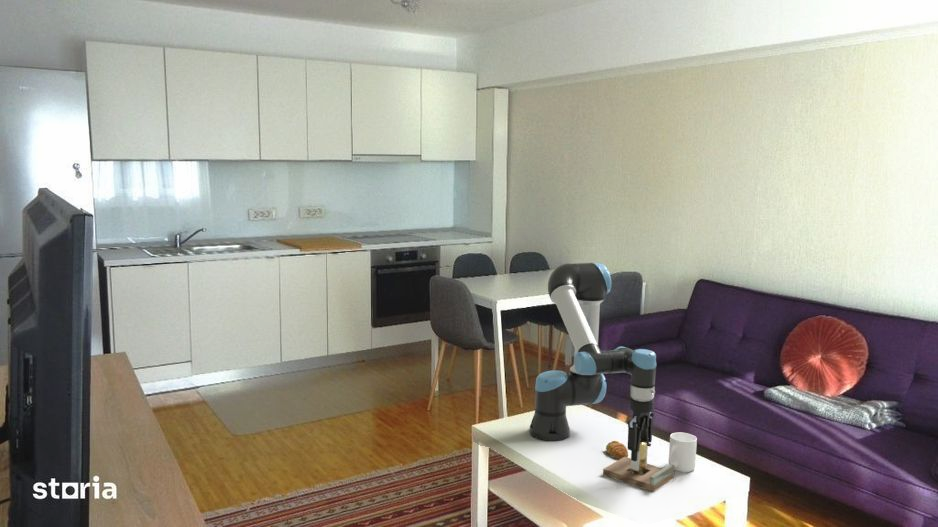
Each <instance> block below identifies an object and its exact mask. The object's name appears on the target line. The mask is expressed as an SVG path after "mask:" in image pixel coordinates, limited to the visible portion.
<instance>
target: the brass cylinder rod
mask: <svg viewBox="0 0 938 527" xmlns="http://www.w3.org/2000/svg"><path fill="white" fill-rule="evenodd" d="M647 447H648V446H647V442H646V441H644V440H640V445H639V451H640V463H639V471H636V470H633V469H632V473H635V474H638V475H644V474H645V471H646V451H647V452H648V449H647Z"/></svg>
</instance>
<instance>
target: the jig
mask: <svg viewBox="0 0 938 527" xmlns="http://www.w3.org/2000/svg"><path fill="white" fill-rule="evenodd" d="M630 468H631V457H623V458H621V459H618V460H616V461H614V462H612V463H611V464H609V465H607V466H606V467H604V468H602V475H603V476H606V477H609V478H611V479H614V480H618V481H621V482H623V483H627V484H629V485H632V486H636V487H638V488H641V489H644V490H647V491H650V492H655V491H656V490H658V489H660V488H661V487H662V486H664V485H665V484H667V483H668V482H670V481H671V480H673V479H674V478H675V470H674V465H673V464H669V463H668V465H666V466H665V467H663V468H662V467H660V466H656V465H652V464H649V463H647V466H646V471H645V474H635V473H633V472H632V469H630Z"/></svg>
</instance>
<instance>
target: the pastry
mask: <svg viewBox="0 0 938 527" xmlns="http://www.w3.org/2000/svg"><path fill="white" fill-rule="evenodd" d="M605 449H606V451H605V452H606V453H607V454H608V455H609V456H611V457H613V458H614V459H616V460H617V459H618V460H620V459H621V458H623V457H627V458H629V451H628V448H627V447H626V445H625V444H623V443H622V442H619V441H617V440H612V441H610V442H609V443H607V445H606V447H605Z"/></svg>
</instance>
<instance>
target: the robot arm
mask: <svg viewBox="0 0 938 527" xmlns="http://www.w3.org/2000/svg"><path fill="white" fill-rule="evenodd" d="M611 289H612V278H611V273H610V271H609V269H608V268H607V266H605V264H603V263H599V262H581V263H580V262H579V263H568V262H567V263H563V264H560V265H559V266H557V267H556V268H555V269H553V271H552V272H551V273H550V276H549V278H548V282H547V293H548V296H549V298H550V300H551V302H552V303H553V304H555V305H556V308H557V309H558V312H559V316H560V317H561V319H562V321H563V324H564V326H565V328H566V331H567V333H568V335H569V337H570V340H571V342H572V344H573V347H574V355H573V356H574V357H573V365H571V366H570V368H569V374H567V372H565V371H564V370H560V369H559V370H555V369H554V370H553V369H552V370H547V371H544V372H541V373H539V374H538V375H537V377H536V378H535V386H534V390H535V391H534V414H533V416H532V420H531V422H530V425H529V435H530V436H532V437H533V438H535V439H537V440H542V441H547V442H549V441H550V442H555V441H563V440H566V439H568V438H569V437H570V435H571V429H570V428H571V427H570V425H569V422H568V419H567V415H566V414H567V407H572V406H573V407H574V406H584V405H585V406H591V405H593V404H599V403H600V402H602V401H603V400H604V398H605V396H606V393H607V382H606V377H605V375H604V374H606V375H607V374H621V373H625V374H626V373H627V374H628V375H630V390H629V391H630V394H629V395H630V398H629V409H630V410H631V411H632V412H633V413H632V417H631V418H632V419H631V420H628V421H627V427H628V428H627V451H628V450H629V451H631V452H630V453H631V454H630V458H631V468H630V469H633V470H636V471H639V463H640V451H639V445H640V440H644V441H646V442H647V451H646V466H647V464H648V448H649V447H651V446H652V443H651V442H652V440H653V439H652V437H653V424H654V416H655V413H654V412H653V411H654V410H655V409H654V408H655V400H654V398H655V393H656V390H655V388H656V386H655V385H656V373H657V354H656V353H655V351H653V350H650V349H644V348H638V349H634V350H633V349H631V348H630V347H625V346H617V347H616V348H615V349H612V350H601V349H600V347H599V333H600V332H599V331H600V330H599V329H600V313H601V312H600V309H601V308H600V307H601V304H602V303H603V302H604V301H605V295H607V294H609V293H610V292H611Z"/></svg>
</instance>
